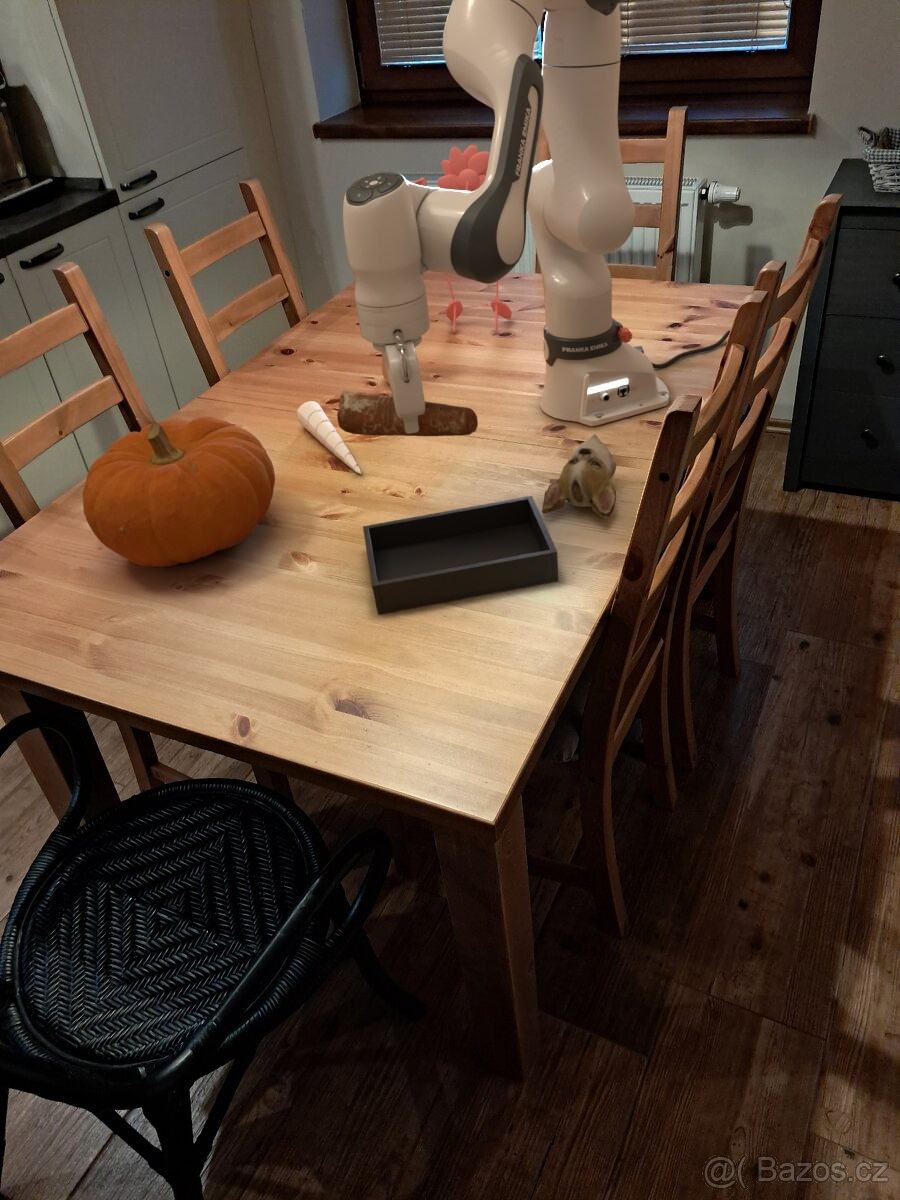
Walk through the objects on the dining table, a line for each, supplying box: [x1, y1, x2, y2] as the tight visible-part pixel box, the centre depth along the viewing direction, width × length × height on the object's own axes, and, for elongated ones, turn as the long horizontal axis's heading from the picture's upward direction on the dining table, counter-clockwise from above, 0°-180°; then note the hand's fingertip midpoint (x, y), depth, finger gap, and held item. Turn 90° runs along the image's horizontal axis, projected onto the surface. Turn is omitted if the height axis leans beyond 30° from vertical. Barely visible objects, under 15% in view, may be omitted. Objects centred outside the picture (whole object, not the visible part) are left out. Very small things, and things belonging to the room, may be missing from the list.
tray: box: [362, 495, 559, 615], centre depth 125 cm, size 25×15×5 cm, turn 99°
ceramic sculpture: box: [541, 433, 617, 520], centre depth 134 cm, size 11×9×15 cm
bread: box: [336, 390, 479, 437], centre depth 121 cm, size 6×19×6 cm, turn 73°
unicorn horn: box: [296, 400, 362, 475], centre depth 157 cm, size 5×24×5 cm, turn 24°
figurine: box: [412, 144, 524, 333], centre depth 186 cm, size 15×26×35 cm, turn 75°
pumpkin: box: [82, 416, 276, 568], centre depth 134 cm, size 28×28×20 cm
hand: (408, 417), depth 122 cm, fingers closed on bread, 6 cm apart
